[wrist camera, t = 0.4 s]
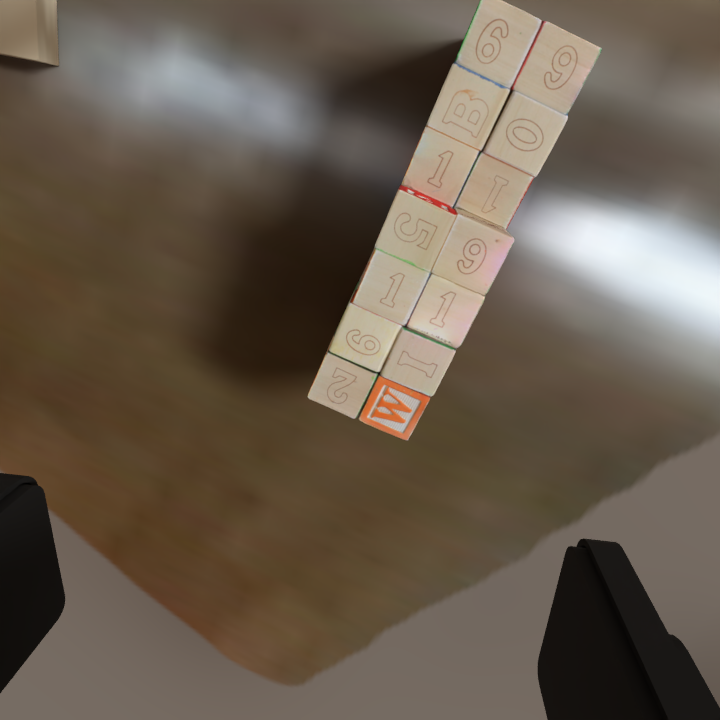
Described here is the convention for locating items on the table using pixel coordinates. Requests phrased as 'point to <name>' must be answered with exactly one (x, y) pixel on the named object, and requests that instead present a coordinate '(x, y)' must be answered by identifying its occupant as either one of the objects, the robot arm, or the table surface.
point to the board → (29, 30)
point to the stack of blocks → (452, 216)
